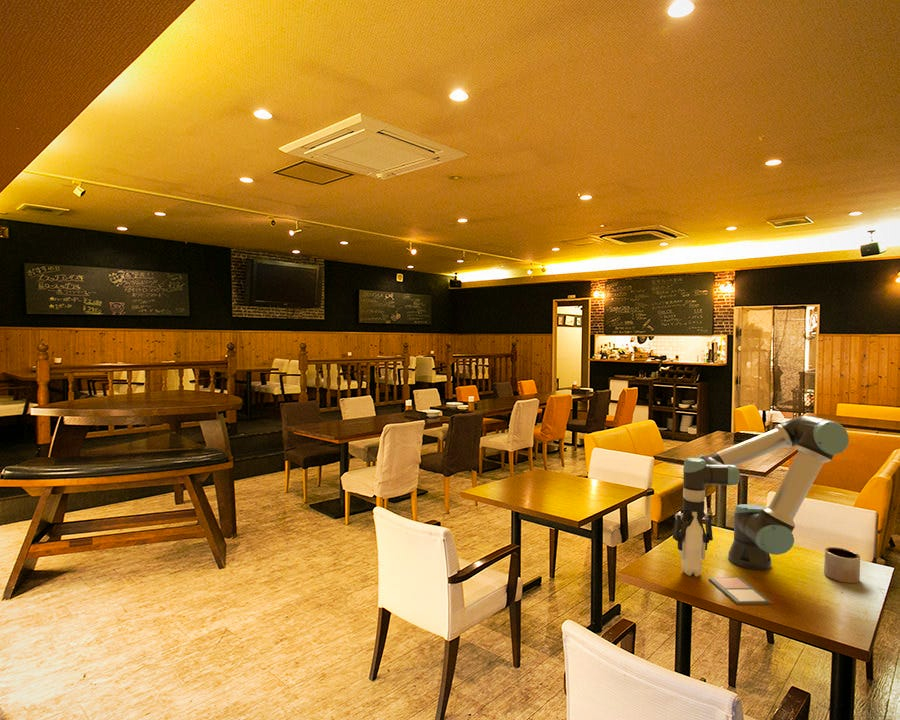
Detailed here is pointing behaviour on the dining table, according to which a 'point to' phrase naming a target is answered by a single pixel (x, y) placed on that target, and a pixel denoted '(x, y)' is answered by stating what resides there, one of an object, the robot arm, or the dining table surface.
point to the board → (739, 591)
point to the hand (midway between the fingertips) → (692, 558)
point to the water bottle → (693, 548)
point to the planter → (842, 565)
